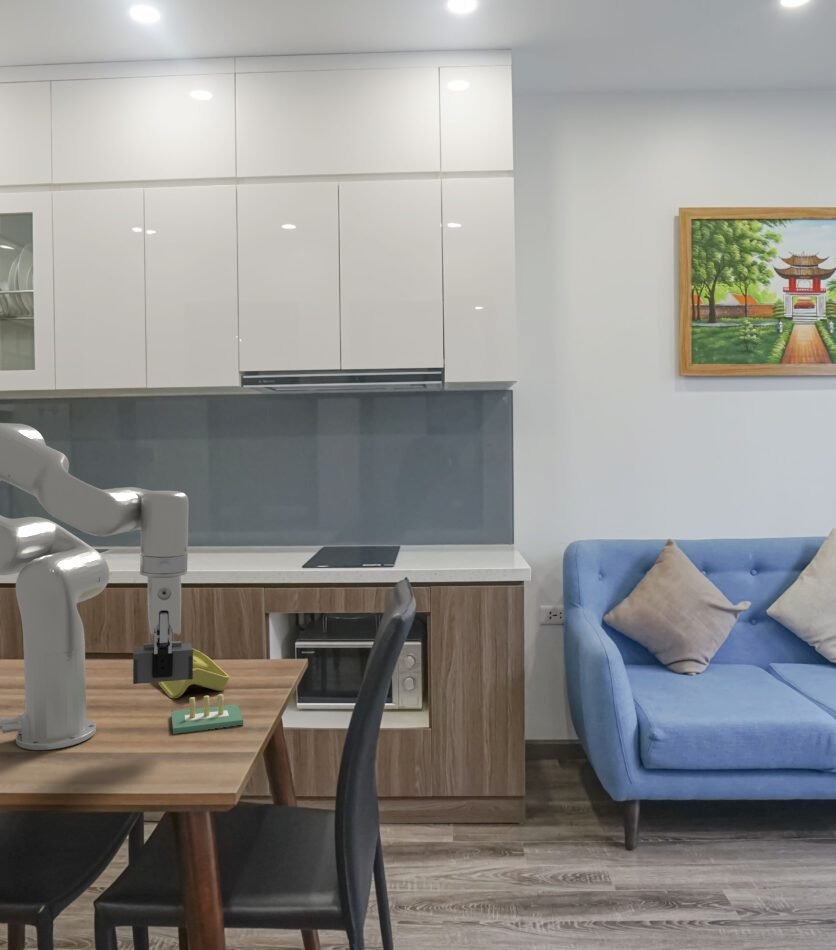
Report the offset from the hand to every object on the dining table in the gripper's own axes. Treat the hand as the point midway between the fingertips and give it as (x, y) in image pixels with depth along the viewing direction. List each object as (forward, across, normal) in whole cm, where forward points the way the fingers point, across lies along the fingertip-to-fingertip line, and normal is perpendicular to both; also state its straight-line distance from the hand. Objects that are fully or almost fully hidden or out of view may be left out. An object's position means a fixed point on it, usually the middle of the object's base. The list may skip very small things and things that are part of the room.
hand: (161, 671), depth 130 cm
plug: (+1, 0, 0) cm, 1 cm away
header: (+12, +8, -8) cm, 17 cm away
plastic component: (+13, +32, -7) cm, 35 cm away
